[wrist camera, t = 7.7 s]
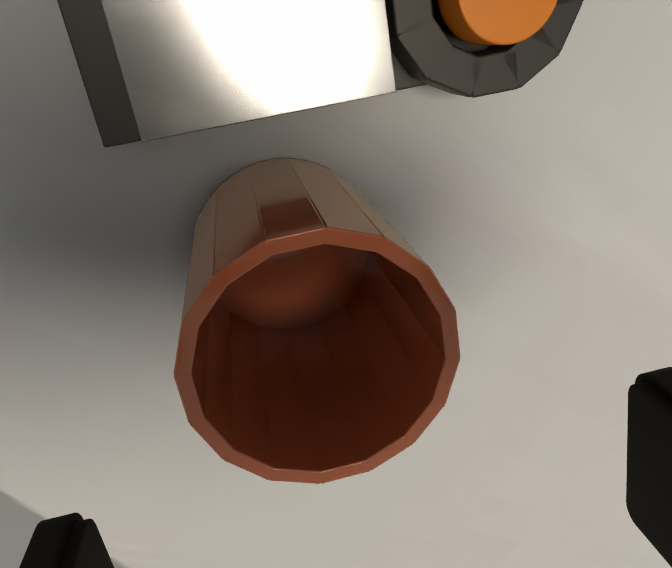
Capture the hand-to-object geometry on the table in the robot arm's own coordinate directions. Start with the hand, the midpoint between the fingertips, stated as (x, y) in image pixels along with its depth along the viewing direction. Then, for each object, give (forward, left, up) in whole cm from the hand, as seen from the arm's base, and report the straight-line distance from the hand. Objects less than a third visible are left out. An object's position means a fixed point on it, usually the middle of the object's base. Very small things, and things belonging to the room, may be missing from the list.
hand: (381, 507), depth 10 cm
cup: (0, 0, -14) cm, 14 cm away
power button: (+7, +8, -11) cm, 15 cm away
